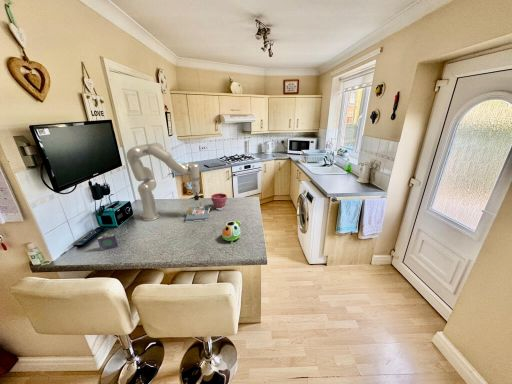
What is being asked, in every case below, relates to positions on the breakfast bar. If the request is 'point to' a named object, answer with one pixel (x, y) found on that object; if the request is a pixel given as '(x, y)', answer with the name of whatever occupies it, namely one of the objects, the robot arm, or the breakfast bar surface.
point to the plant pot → (219, 200)
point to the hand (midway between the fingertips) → (196, 199)
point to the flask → (107, 242)
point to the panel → (198, 214)
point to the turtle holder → (231, 231)
